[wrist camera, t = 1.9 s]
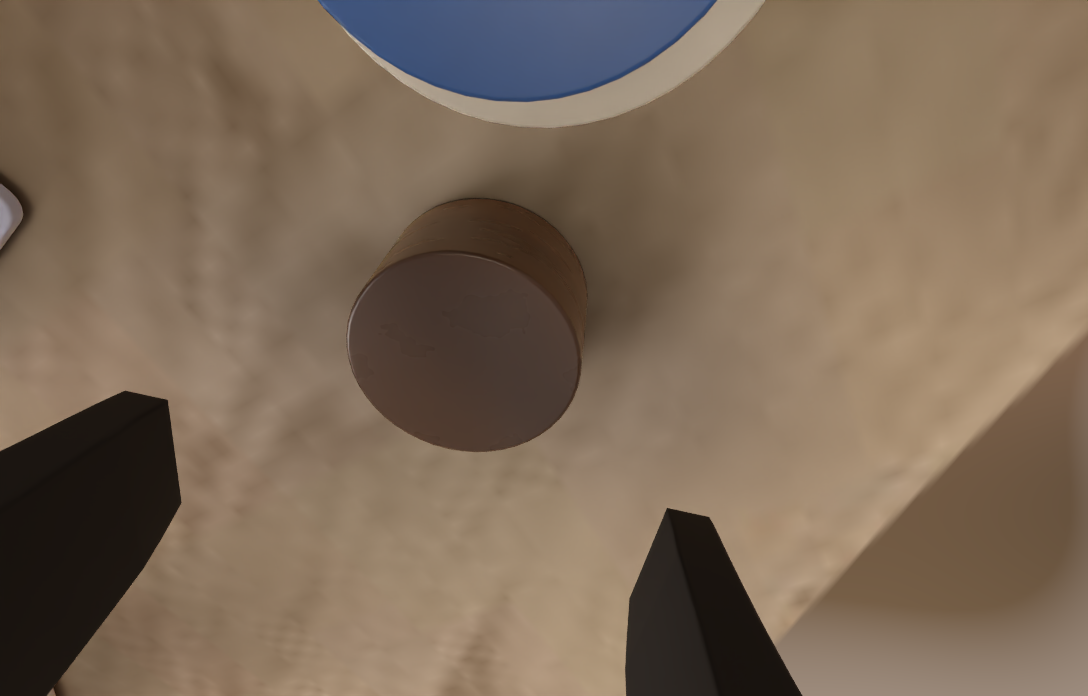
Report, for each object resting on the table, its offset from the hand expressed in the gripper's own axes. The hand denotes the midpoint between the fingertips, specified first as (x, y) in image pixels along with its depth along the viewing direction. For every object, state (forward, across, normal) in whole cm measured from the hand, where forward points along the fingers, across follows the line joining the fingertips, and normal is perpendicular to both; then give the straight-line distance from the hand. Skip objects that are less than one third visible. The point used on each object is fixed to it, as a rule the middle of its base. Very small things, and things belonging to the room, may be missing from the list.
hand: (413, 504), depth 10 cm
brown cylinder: (+7, 0, 0) cm, 7 cm away
